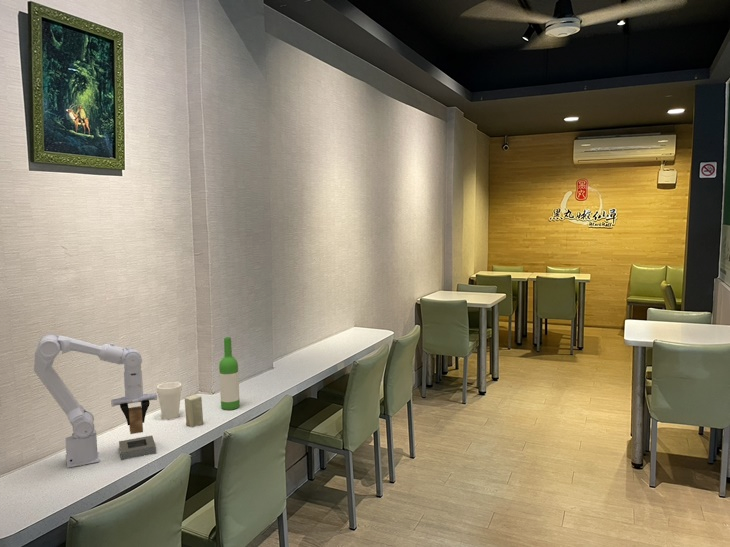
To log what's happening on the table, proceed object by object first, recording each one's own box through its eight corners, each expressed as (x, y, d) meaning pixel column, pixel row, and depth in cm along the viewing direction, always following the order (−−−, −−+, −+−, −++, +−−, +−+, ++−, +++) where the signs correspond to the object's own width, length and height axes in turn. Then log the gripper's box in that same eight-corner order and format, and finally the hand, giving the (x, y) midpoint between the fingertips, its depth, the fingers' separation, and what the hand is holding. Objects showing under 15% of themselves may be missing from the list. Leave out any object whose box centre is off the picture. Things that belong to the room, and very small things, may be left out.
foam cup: (173, 411, 234) (172, 380, 233) (187, 415, 229) (186, 384, 227) (153, 417, 226) (151, 386, 225) (167, 422, 221) (165, 390, 220)
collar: (121, 460, 187) (120, 452, 186) (119, 448, 197) (118, 441, 196) (156, 453, 192) (155, 446, 191) (152, 442, 201) (152, 435, 201)
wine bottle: (222, 411, 232) (219, 340, 229) (219, 406, 239) (216, 337, 236) (241, 409, 235) (238, 338, 232) (238, 403, 242) (235, 335, 239)
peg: (130, 434, 191) (129, 411, 190) (129, 430, 194) (128, 408, 194) (143, 432, 193) (141, 409, 192) (142, 428, 196) (140, 406, 195)
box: (197, 421, 221) (195, 394, 220) (203, 423, 219) (202, 396, 218) (185, 425, 217) (184, 397, 216) (191, 427, 215) (190, 399, 214)
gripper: (110, 390, 185) (113, 430, 186) (157, 384, 191) (159, 422, 193) (109, 385, 191) (112, 423, 193) (155, 379, 198) (157, 416, 199)
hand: (135, 423), depth 193 cm, fingers closed on peg, 4 cm apart
